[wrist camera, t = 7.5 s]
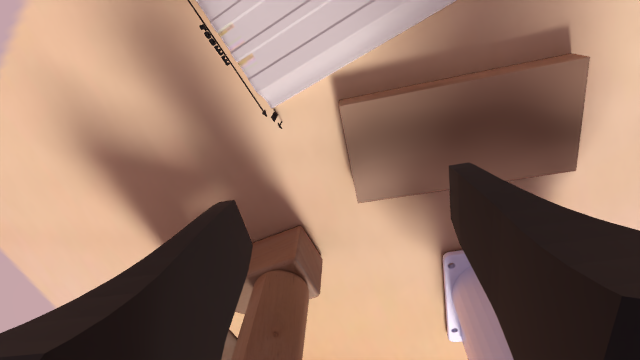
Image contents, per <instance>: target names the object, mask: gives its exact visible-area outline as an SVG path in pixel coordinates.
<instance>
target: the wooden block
mask: <svg viewBox="0 0 640 360" xmlns="http://www.w3.org/2000/svg"><path fill="white" fill-rule="evenodd" d="M252 244H253V248H252V254H251V260H250V265H249V270H248V274H247V277H246V280H245V283H244V286H243V289H242V292H241V295H240V298H239V301H238V304H237V307H236V310H235V312H238V313H242V314H245V316H244V319H243V323H242V326H241V329H240V333H239V336H238V338H237V337H236V336H235V335H234V334H233V333H232V332H231V331H230V330H229V331H228V334H227V338H226V341H225V345H224V350H223V354H222V359H221V360H302V356H303V347H304V338H305V330H306V321H307V312H308V303H309V299H311V298H315V297H317V296H319V294H320V287H321V274H322V262H323V261H322V258H321V256H320V254H319V253H318V251H317V250H316V248H315V246H314V245H313V243H312V242H311V240H310V239H309V237H308V235H307V234H306V232H305V231H304V229H303V228H302V227H301V226H298V227H295V228H292V229H289V230H287V231H284V232H281V233H279V234H276V235H273V236H270V237H268V238H265V239H262V240H260V241H257V242H254V243H252Z"/></svg>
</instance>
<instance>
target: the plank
mask: <svg viewBox="0 0 640 360" xmlns="http://www.w3.org/2000/svg"><path fill="white" fill-rule="evenodd" d="M589 59H590V57H588V56H582V55H577V54H572V53H571V54H566V55H561V56H556V57H551V58H546V59H541V60H536V61H531V62H526V63H521V64H516V65H511V66H506V67H501V68H497V69H492V70H487V71H482V72H477V73H472V74H467V75H462V76H457V77H452V78H447V79H442V80H437V81H432V82H427V83H422V84H417V85H412V86H407V87H402V88H397V89H392V90H387V91H382V92H377V93H372V94H367V95H362V96H357V97H352V98H347V99H342V100H340V101H339V109H340V114H341V119H342V124H343V130H344V135H345V140H346V145H347V150H348V155H349V160H350V165H351V170H352V176H353V181H354V186H355V191H356V196H357V201H358V203H363V202H370V201H377V200H383V199H390V198H397V197H403V196H410V195H417V194H423V193H430V192H437V191H443V190H450V186H449V165H456V164H462V163H468V162H469V163H472V164H474V165H476V166H478V167H480V168H482V169H484V170H485V171H487V172H489V173H491V174H493V175H495V176H497V177H499V178H501V179H502V180H504V181H510V180H517V179H524V178H530V177H537V176H544V175H550V174H557V173H564V172H570V171H576V167H577V158H578V150H579V142H580V134H581V125H582V117H583V109H584V101H585V92H586V84H587V76H588V68H589Z"/></svg>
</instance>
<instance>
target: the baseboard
mask: <svg viewBox="0 0 640 360" xmlns="http://www.w3.org/2000/svg"><path fill="white" fill-rule="evenodd" d="M195 1H196V2H197V3H198V4H199V6H200V7H201V9H202V10H203V12H204V13H205V15H206V16H207V18H208V19H209V21H210V23H211V25H212V26H213V28H214V29H215V31H216V32H217V33H218V34H219V36H220V37H221V39H222V40H223V42H224V43H225V45H226V46H227V48H228V49H229V51H230V52H231V55H232V56H233V58H234V59H235V61H236V62H237V63H238V64H239V66H240V67H241V69H242V70H243V72H244V73H245V75H246V76H247V78H248V80H249V82H250V83H251V85H252V86H253V88H254V89H255V91H256V92H257V93H258V94H259V95H261V96H262V97H263V98H264V99H265V100H266V101H267V103H268V104H269V106H270V107H271V108H274V107H275V106H277V105H279V104H281V103H282V102H284V101H286V100H287V99H289V98H291V97H293V96H294V95H296V94H298V93H299V92H301V91H303V90H305V89H306V88H308V87H310V86H311V85H313V84H315V83H316V82H318V81H320V80H322V79H323V78H325V77H327V76H328V75H330V74H332V73H334V72H335V71H337V70H339V69H340V68H342V67H344V66H346V65H347V64H349V63H351V62H352V61H354V60H356V59H358V58H359V57H361V56H363V55H364V54H366V53H368V52H369V51H371V50H373V49H375V48H376V47H378V46H380V45H381V44H383V43H385V42H387V41H388V40H390V39H392V38H393V37H395V36H397V35H399V34H400V33H402V32H404V31H405V30H407V29H409V28H411V27H412V26H414V25H416V24H417V23H419V22H421V21H422V20H424V19H426V18H428V17H429V16H431V15H433V14H434V13H436V12H438V11H440V10H441V9H443V8H445V7H446V6H448V5H450V4H452V3H453V2H455V1H457V0H195ZM188 2H189V3H190V4H191V2H190V1H189V0H188ZM191 6H192V7H193V5H192V4H191ZM193 9H194V10H195V8H194V7H193ZM195 12H196V13H197V11H196V10H195ZM197 15H198V16H199V14H198V13H197ZM199 18H200V19H201V17H200V16H199ZM201 21H202V22H203V20H202V19H201ZM204 25H205V23H204V22H203V25H200V29H201V30H203V29H204V30H205V31H206V30H208V31H209V32H208V31H206V32H205V33H204V34H205V36H206V37H207V38H208V39H209V38H211V36H212V37H213V38H214V36H213V35H212V33H211V32H210V30H209V29H208V27H207V26H206V25H205V26H204ZM206 28H207V29H206ZM207 34H208V35H207ZM210 34H211V35H210ZM214 40H215V41H216V39H215V38H214V39H212V38H211V39H210V40H209V42H210V43H211V45H213V46H214V45H216V43H217V44H218V42H217V41H216V42H215V41H214ZM218 46H219V47H220V45H219V44H218V45H217V46H215V47H214V48H215V49H216V51H217V52H218V54H219V55H220V56H221V55H223V53H224V51H223V50H222V48H221V47H220V49H221V50H222V52H223V53H220V51H221V50H220V49H218ZM225 56H226V54H225V53H224V56H222V57H221V58H222V59H223V61H224V62H225V64H226V65H227V66H228V65H229V64H231V65H232V63H231V62H230V60H229V59H228V57H227V56H226V58H227V59H228V60H227V59H225ZM227 61H229V62H230V63H229V62H228V63H227ZM232 67H233V68H234V66H233V65H232ZM234 70H235V71H236V73H237V74H238V75H239V73H238V72H237V70H236V69H235V68H234ZM239 77H240V78H241V76H240V75H239ZM241 80H242V81H243V79H242V78H241ZM243 83H244V84H245V82H244V81H243ZM245 86H246V87H247V85H246V84H245ZM247 89H248V90H249V88H248V87H247ZM249 92H250V93H251V91H250V90H249ZM251 95H252V96H253V94H252V93H251ZM253 98H254V99H255V97H254V96H253ZM255 101H256V102H257V100H256V99H255ZM257 104H258V105H259V103H258V102H257ZM259 107H260V108H261V106H260V105H259ZM261 109H262V108H261ZM262 111H263V109H262ZM274 111H275V110H274ZM262 114H263V115H265V116H266V117H267V114H266V111H265V110H264V111H263V113H262ZM277 115H278V114H277V113H276V111H275V112H274V113H273V115H272V116H271V118H272V120H273V121H274V122H275V120H276V118H277ZM281 123H282V121H281ZM281 123H280V124H279V123H278V126H279V128H281V129H282V127H281V126H280V125H281Z"/></svg>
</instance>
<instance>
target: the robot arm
mask: <svg viewBox="0 0 640 360" xmlns="http://www.w3.org/2000/svg"><path fill="white" fill-rule="evenodd" d="M449 186H450V208H451V220H452V223H453V226H454V229H455V232H456V234H457V237H458V240H459V243H460V245H461V247H462V249H463V250H461V251H452V252H447V253H445V254H444V255H443V272H444V288H445V304H446V320H447V335H448V338H449V340H450V341H452V342H460V341H462V342H463V345H464V348H465V351H466V354H467V357H468V360H640V231H639V230H635V229H632V228H628V227H624V226H621V225H617V224H613V223H610V222H606V221H603V220H600V219H597V218H593V217H590V216H588V215H585V214H582V213H579V212H576V211H573V210H570V209H567V208H565V207H562V206H560V205H557V204H554V203H552V202H550V201H547V200H545V199H543V198H540V197H538V196H536V195H533V194H531V193H529V192H527V191H525V190H523V189H520V188H518V187H516V186H514V185H512V184H510V183H508V182H506V181H504V180H502V179H501V178H499V177H497V176H495V175H493V174H491V173H489V172H487V171H485V170H484V169H482V168H480V167H478V166H476V165H474V164H472V163H469V162H468V163H462V164H456V165H449ZM252 248H253V244H252V242H251V239H250V237H249V234H248V232H247V230H246V227H245V225H244V222H243V220H242V217H241V215H240V212H239V210H238V207H237V205H236V202H235V200H232V201H225V202H219V203H217V204H215V205H214V206H212V207H211V208H209V209H208V210H207V211H205V212H204V213H203V214H201V215H200V216H199V217H197V218H196V219H195V220H194V221H192V222H191V223H190V224H189V225H187V226H186V227H185V228H184V229H182V230H181V231H180V232H179V233H177V234H176V235H175V236H173V237H172V238H171V239H169V240H168V241H167V242H165V243H164V244H163V245H161V246H160V247H159V248H157V249H156V250H155V251H153V252H152V253H151V254H149V255H148V256H146V257H145V258H144V259H142V260H141V261H139V262H138V263H136V264H135V265H133V266H132V267H130V268H129V269H127V270H125V271H124V272H122V273H121V274H119V275H117V276H116V277H114V278H113V279H111V280H109V281H107V282H106V283H104V284H102V285H100V286H98V287H97V288H95V289H93V290H91V291H89V292H88V293H86V294H84V295H82V296H80V297H79V298H77V299H75V300H73V301H71V302H69V303H67V304H65V305H63V306H61V307H59V308H57V309H55V310H53V311H50V312H48V313H46V314H44V315H42V316H40V317H37V318H35V319H33V320H31V321H29V322H26V323H24V324H22V325H19V326H17V327H15V328H12V329H10V330H7V331H5V332H3V333H0V360H221V359H222V354H223V350H224V345H225V341H226V338H227V334H228V331H229V328H230V325H231V322H232V319H233V316H234V313H235V310H236V307H237V304H238V301H239V298H240V295H241V292H242V289H243V286H244V283H245V280H246V277H247V274H248V270H249V265H250V260H251V254H252ZM450 263H453V264H451V265H449V264H450Z"/></svg>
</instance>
